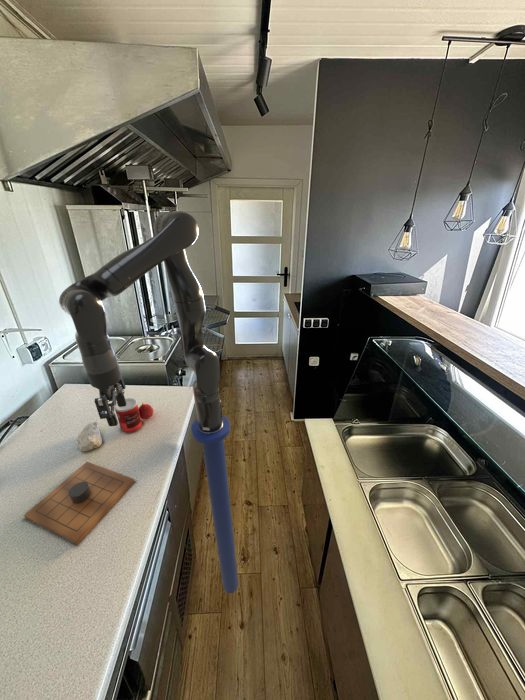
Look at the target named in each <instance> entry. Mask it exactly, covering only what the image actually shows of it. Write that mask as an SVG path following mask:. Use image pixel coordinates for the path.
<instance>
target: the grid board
mask: <svg viewBox="0 0 525 700" xmlns="http://www.w3.org/2000/svg"><path fill="white" fill-rule="evenodd" d="M79 482H87V483H88V485H89V488H90V490H91V494H90V496H89V498H88V499H87V500H85V501H84V502H82V503H78V504H75V503H73V502H72V501H71V499H70V496H69V494H68V493H69V490H70V488H71V487H72V486H74V485H75V484H77V483H79ZM134 484H135V479H134V478H132V477H130V476H127V475H124V474H122V473H119V472H116V471H113V470H111V469H108V468H105V467H103V466H100V465H97V464H94V463H93V462H89V461H86V462H85V463H83V464H81V466H80V467H78V468H77V469H76V470H75V471H74V472H73V473H71V474H70V475H69V476H68V477H67V478H66V479H64V480H63V481H62V482H61V483H60V484H59V485H57V486H56V487H55V488H54V489H52V490H51V491H50V492H49V493H48V494H46V495H45V496H44V497H43V498H42V499H40V501H38V502H37V503H36V504H35V505H34V506H32V507H31V508H30V509H29V510H28V511H27V512H26V513H25V514H23V517H24V518H25V520H28V521H29V522H31V523H33V524H35V525H37V526H39V527H41V528H43V529H46V530H47V531H49V532H51V533H53V534H55V535H57V536H59V537H61V538H63V539H65V540H67V541H69V542H71V543H73V544H75V545H76V546H77V545H79V544H80V543H81V541H83V539H85V537H86V536H87V535H88V534H89V533H90V532H91V531H92V530H93V529H94V527H95V526H96V525H97V524H98V523H99V522H100V521H101V520H102V519H103V517H104V516H105V515H106V514H107V513H108V512H109V511H110V510H111V509H112V507H114V505H116V503H117V502H118V501H119V500H120V499H121V498H122V497H123V496H124V495H125V494H126V492H127V491H128V490H129V489H130V488H131V487H132V486H133V485H134Z"/></svg>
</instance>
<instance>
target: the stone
mask: <svg viewBox="0 0 525 700" xmlns="http://www.w3.org/2000/svg"><path fill="white" fill-rule="evenodd" d="M98 425H99V424H98V421H97V420H96V421H90V422H89V423H88V424H86V425H85V426H84V427H83V429H82V430H81V431H80V433H79V434H78V435H77V439H76V441H77V449H78V451H80V452H86V451H89V450H91V451H92V450H94V449H97V448H100V446H102V443H103V439H102V435H101V432H100V431H101V430H100V428H99V426H98Z"/></svg>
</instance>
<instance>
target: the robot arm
mask: <svg viewBox="0 0 525 700" xmlns="http://www.w3.org/2000/svg"><path fill="white" fill-rule="evenodd" d="M153 230H154V236H152V237H150V238H149V239H147V240H145V241H144V242H141V243H140V244H138V245H136V246H134V247H132V248H130V249H128V250H125V251H124V252H122V253H119V254H118V255H117V256H115V257H113V258H112V259H111V260H110V261H108V262H107V263H105V264H104V265H102V266H100V268H99V269H98V270H96V271H95V272H93V273H92V274H89V275H87V276H85V277H83V278H81V279H80V280H77V281H75V282H74V283H72V284H70V285H69V286H68V287H66V288H65V289H64V290H63V291H62V292H61V293H60V296H59V299H58V304H59V307H60V308H61V310H62V311H63V312H64V313H66V314H67V315H69V316H70V317H71V320H72V322H73V326H74V328H75V333H74V338H75V343H76V346H77V348H78V351H79V353H80V356H81V361H82V364H83V368H84V370H85V373H86V376H87V379H88V382H89V385H90V387H92V388H95V389H97V390H98V392H99V395H98V396H99V397H96V398H94V404H95V408H96V410H97V414H98V417H99V419H100V420H104V419H106V422H107V424H108V427H116V426H118V425H119V421H118V417H117V414H116V411H115V406H116V403H117V404H118V406H119V407H123V406H126V404H127V403H126V400H125V399H126V397H125V390H126V387H127V386H126V384H125V381H124V377H123V374H122V372H121V367H120V365H119V364H120V363H119V361H118V357H117V354H116V352H115V350H114V348H113V345H112V342H111V339H110V336H109V333H108V330H107V328H108V327H107V316H106V310H105V307H104V304H103V301H104V300H106V299H108V298H109V297H117V296H119V295H121V294H122V293H123V292H124V291H125V290H127V289H128V288H130V287H131V286H132V285H134V283H136V282H137V281H138V280H139V279H141V278H142V277H143V276H145V275H146V274H147V273H148V272H150V271H152V270H153V269H154V268H156V267H157V266H159V265H160V264H161V263H163V262H164V266H165V271H166V274H167V279H168V283H169V287H170V291H171V297H172V301H173V305H174V312H175V314H176V317H177V322H178V326H179V331H180V334H181V339H182V346H183V347H182V348H183V356H184V357H183V358H184V362H185V364H186V366H187V368H189V370H191V371H192V372H193V373H195V377H196V379H195V380H194V381H193V383H192V392H193V399H194V405H195V412H196V420H197V419H198V428H199V431H200V432H202V433H204V434H214V433H216V432H218V431H220V430H221V428H222V427H223V422H222V421H223V416H224V414H223V404H222V400H221V395H220V394H221V393H220V382H221V363H220V358H219V356H218V355H217V353H216V352H214V351H212V350H211V349H209V348H207V346H206V343H205V340H204V335H203V326H204V321H205V318H206V303H205V298H204V293H203V290H202V287H201V285H200V282H199V281H198V279H197V277H196V276H195V274H194V271H193V270H192V269H191V266H190V264H189V261H188V258H187V254H186V249H188V248H189V247H191V246H192V245H194V244H195V242H196V241H197V240H198V237H199V231H200V230H199V224H198V222H197V220H196V218H195V217H194V216H193V215H191V214H190V213H188V212H186V211H181V210H179V211H178V210H177V211H176V210H173V211H171V210H170V211H162V212H160V213H158V215H157V216H156V217H155V220H154V223H153ZM109 402H111V403H109Z"/></svg>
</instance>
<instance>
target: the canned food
mask: <svg viewBox="0 0 525 700" xmlns="http://www.w3.org/2000/svg"><path fill="white" fill-rule="evenodd" d="M125 400H126V403H127V404H126V406H123V407H119V406H118V404H117V402H116V406H115V407H114V410H115V415H116V418H117V421H118V425H119V427H120V430H121V431H122V432H123V433H127V434H129V433H134V432H136V431H138V430H140V429H141V427H142V425H143V421H142V420H143V419H142V418H141V416H140V412H139V405H138V401H137V399H135V398H130V397H129V398H125Z"/></svg>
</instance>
